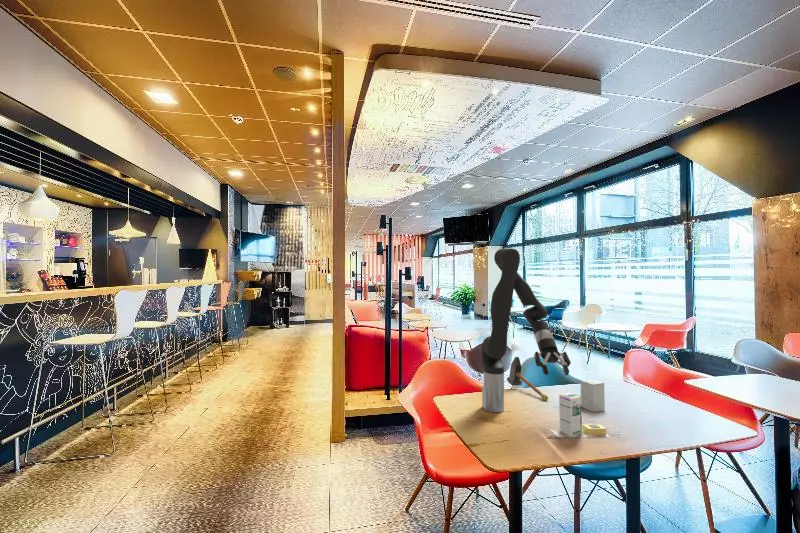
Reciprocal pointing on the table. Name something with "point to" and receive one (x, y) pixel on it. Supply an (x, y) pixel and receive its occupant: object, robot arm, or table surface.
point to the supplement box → (592, 395)
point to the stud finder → (594, 429)
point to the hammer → (520, 377)
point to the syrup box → (570, 414)
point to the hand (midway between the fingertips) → (557, 374)
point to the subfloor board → (561, 434)
